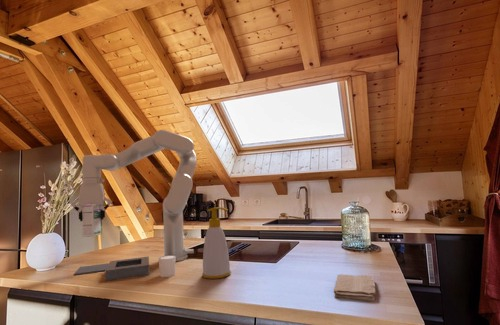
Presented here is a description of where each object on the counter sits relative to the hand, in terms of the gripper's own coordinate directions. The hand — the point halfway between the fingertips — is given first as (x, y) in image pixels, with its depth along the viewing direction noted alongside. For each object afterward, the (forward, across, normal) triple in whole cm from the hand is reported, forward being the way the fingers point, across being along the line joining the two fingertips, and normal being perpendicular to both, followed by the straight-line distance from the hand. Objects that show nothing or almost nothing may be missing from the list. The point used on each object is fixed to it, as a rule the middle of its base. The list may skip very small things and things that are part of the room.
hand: (92, 219), depth 131 cm
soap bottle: (+22, -49, +36) cm, 65 cm away
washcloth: (+23, -85, +72) cm, 114 cm away
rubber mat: (+22, 0, 0) cm, 22 cm away
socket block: (+22, -16, +14) cm, 31 cm away
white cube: (+22, -31, +26) cm, 46 cm away
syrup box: (+7, 0, 0) cm, 7 cm away
